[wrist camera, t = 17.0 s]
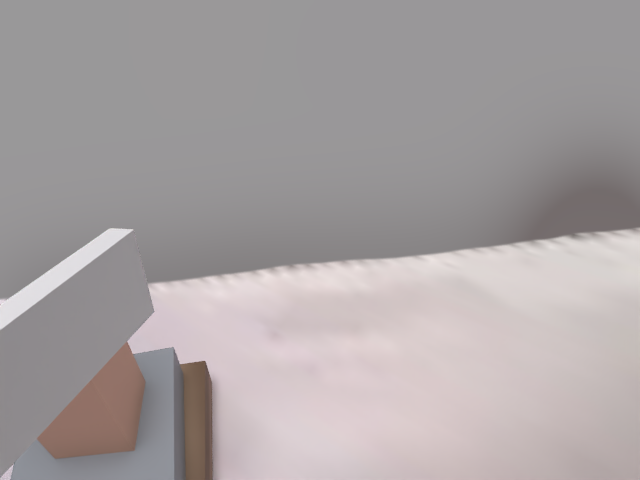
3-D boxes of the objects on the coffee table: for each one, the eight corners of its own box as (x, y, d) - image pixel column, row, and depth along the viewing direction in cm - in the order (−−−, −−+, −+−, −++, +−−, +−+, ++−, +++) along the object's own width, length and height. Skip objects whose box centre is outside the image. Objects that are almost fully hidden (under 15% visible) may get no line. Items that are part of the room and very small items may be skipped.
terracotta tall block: (145, 381, 36) (104, 294, 28) (134, 450, 32) (84, 370, 25) (74, 387, 35) (14, 300, 28) (55, 458, 32) (-19, 379, 25)
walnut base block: (212, 384, 44) (205, 360, 41) (213, 533, 36) (204, 515, 33) (73, 405, 43) (55, 381, 40) (40, 564, 34) (15, 549, 31)
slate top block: (183, 374, 40) (173, 347, 38) (186, 502, 33) (174, 481, 31) (54, 398, 39) (34, 371, 36) (29, 538, 32) (1, 518, 29)
